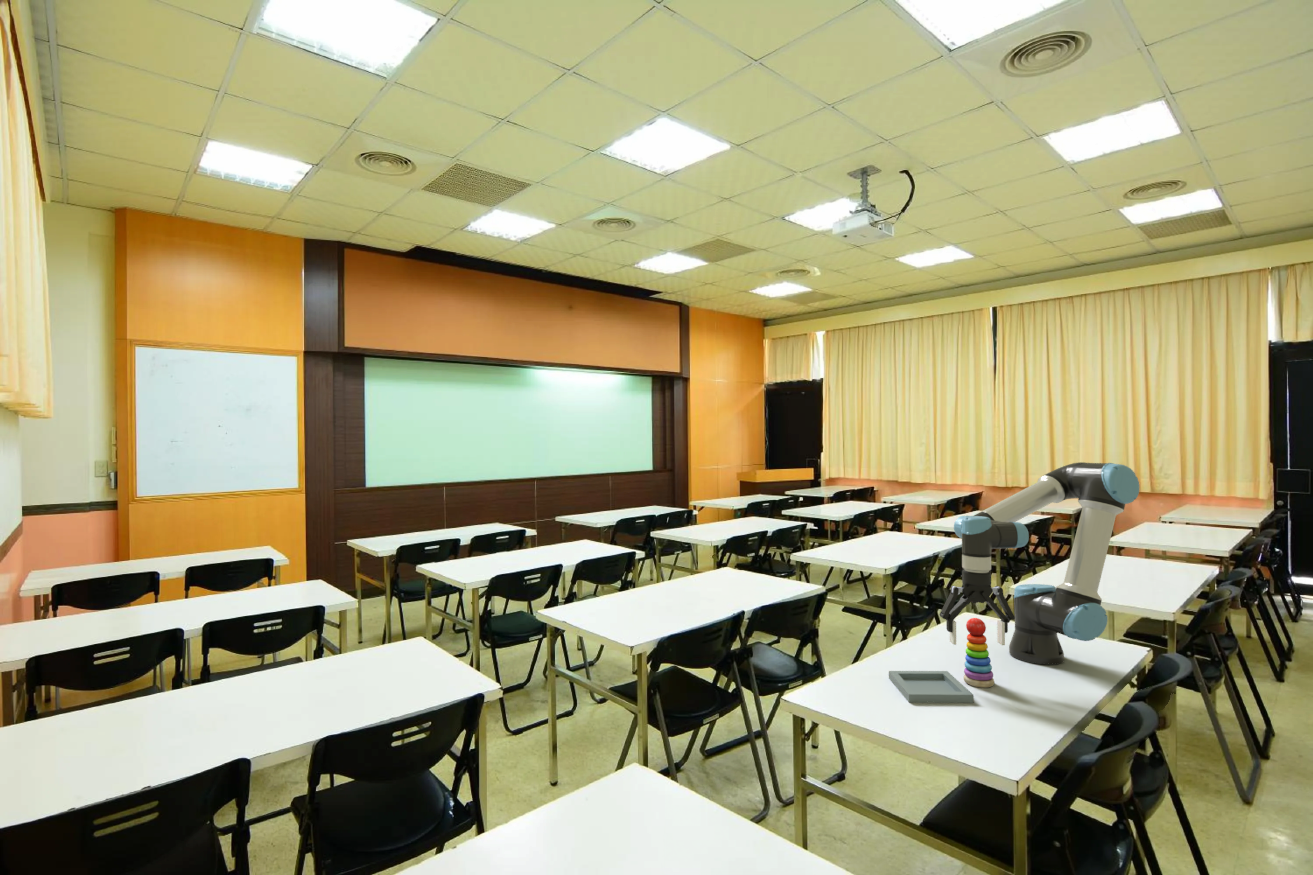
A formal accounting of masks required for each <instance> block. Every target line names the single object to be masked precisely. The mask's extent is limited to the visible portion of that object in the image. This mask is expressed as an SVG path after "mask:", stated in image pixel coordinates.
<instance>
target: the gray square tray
mask: <svg viewBox="0 0 1313 875" xmlns="http://www.w3.org/2000/svg"><path fill="white" fill-rule="evenodd" d="M888 679H889V680H890V681H891V683H892V684H893V685H894V687H896V689H897V690H898V691H899V692H900V693H901V695H902V696H903V697H904V698H905V700H906V701H907V702H908V703H913V704H914V703H915V704H916V703H920V704H921V703H922V704H926V703H927V704H928V703H929V704H931V703H933V704H936V703H937V704H941V703H945V704H946V703H948V704H949V703H950V704H955V703H956V704H973V703H974V699H975V698H974V697H975V696H974V694H973V693H972V691H970V690H969V689H968V688H967V687H966V686H964V684H962V683H961V682H960V681H959V680H958V679H957V678H956V677H954V675H953V674H951V673H950V672H949V671H948V670H888Z"/></svg>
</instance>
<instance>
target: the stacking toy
mask: <svg viewBox="0 0 1313 875" xmlns="http://www.w3.org/2000/svg"><path fill="white" fill-rule="evenodd" d="M965 627H966V630H967V631H968V633H969V634H967V635H966V640H967V642H966V649H965V653H966V655H965V656H964V657H965V662H964V671H963V673H964V674H963V681H964V682H965V683H966V684H968V685H969V686H972V687H976V688H983V689H984V688H990V687H992V686H994V685H995V679H994V673H993V671H992V669H993V667H992V665H991V658H990V657H989V655H990V654H989V653H990V652H989V651H988V648H989V647H988V643H986V642H987V637H986V635H984V634H985V633H986V631H987V627H986V623H985V622H984V621H983V619H980V618H979V617H978V618H977V617H971V618H970V619H968V620H967V621H966V625H965Z"/></svg>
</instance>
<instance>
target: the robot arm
mask: <svg viewBox="0 0 1313 875" xmlns="http://www.w3.org/2000/svg"><path fill="white" fill-rule="evenodd" d="M1139 493H1140V481H1139V478H1138V477H1137V476H1136V473H1135V471H1134V470H1133V469H1132V468H1130V467H1129V466H1127V465H1125V464H1122V463H1121V464H1120V463H1112V462H1108V463H1107V462H1106V463H1105V462H1084V461H1083V462H1082V461H1081V462H1073V463H1070V464H1067V465H1063V466H1060V467H1058V468H1056V469H1053V470H1051V471H1050V472H1047V473H1045V474H1043V475H1041V476H1040V477H1039V478H1038V479H1037V482H1035V483H1034V484H1031V485H1030V486H1027V487H1026V488H1023V489H1022V490H1020V491H1017V492H1016V493H1014V494H1012V495H1010V496H1008V497H1006V498H1005V499H1002V500H1001V501H999V502H997V503H995V504H993V505H991V506H989V507H987V508H986V509H984V510H982V511H980V512H977V513H975V514H974V515H961V516H959V517H958V518H956V520H955V521H954V524H953V530H954V533H955V535H956V537H958V538H959V539H961V553H962V554H961V567H962V570H961V576H962V577H961V579H962V580H961V583H962V586H956V585H951V586H950V592H949V594H948V597H947V599H946V601H945V602H944V604H943V605H942V606H943V607H942V608H941V611H940V613H939V617H940V618H942V619H943V620H945V621H946V622H945V623H946V631H947V632H949V642H950V643H951V644H952V645H953V646H954V645H957V621H955V619H956V618H957V617H958V616H959V615H960V613H961V612H962V611H963V610H964V609H965V608H966V606H967V605H970V603H973V604H977V603H980V604H984V603H986V604H987V605H988V606H989V607H990V609H992V611H993V612H994V614H996V616H997V617H998V618H999V619H997V624H996V625H997V627H996V628H997V633H996V634H997V643H998V644H1000V645H1001V646H1005V645H1006V634H1008V631H1009V630H1008V629H1009V626H1008V624H1009V623H1010V622H1011V621H1014V630H1013V631H1014V632H1013V634H1012V637H1011V640H1010V643H1009V645H1008V654H1009V655H1010V656H1012V657H1013V658H1015V659H1017V660H1020V661H1023V662H1027V663H1032V664H1037V665H1046V666H1047V665H1050V666H1051V665H1059V664H1063V663H1064V662H1065V653H1064V649H1063V647H1062V645H1061V641H1060V639H1059V637H1058V634H1060V635H1063V636H1066V637H1068V638H1070V639H1073V640H1078V641H1083V642H1091V641H1094V640H1095V639H1096V638H1098V637H1100V636H1101V635H1102V634H1103V633H1104V631H1105V630H1106V628H1107V625H1108V615H1107V611H1106V610H1105V608H1104V607H1103V606H1102V601H1103V600H1102V598H1101V596H1100V595H1099V594H1098V593H1099V592H1098V590H1099V587H1100V582H1101V578H1102V575H1103V570H1104V566H1105V561H1106V558H1107V554H1108V549H1109V545H1110V541H1111V537H1112V534H1113V529H1114V527H1115V526H1114V525H1115V522H1116V521H1115V520H1116V518H1117V515H1119V514H1121V513H1123V512H1124V511H1125V508H1126V505H1127V504H1128V505H1129V504H1131V503H1133V502H1134V501H1135V500H1137V498H1138V496H1139ZM1071 499H1077V502H1078V504H1079V505H1080V506H1081V512H1080V515H1079V521H1078V525H1077V528H1076V533H1075V537H1074V540H1073V544H1072V548H1071V552H1070V556H1069V560H1068V564H1067V568H1066V571H1065V572H1066V573H1065V576H1064V578H1063V579H1064V580H1063V582H1062V583H1061V584H1058V585H1057V586H1056V585H1055V586H1054V585H1053V584H1044V583H1043V584H1040V583H1032V584H1031V583H1029V584H1028V583H1026V584H1019V585H1017V586H1015V587H1014V592H1013V593H1014V594H1013V595H1014V596H1013V607H1014V608H1013V609H1014V613H1013V610H1012V609H1011V607H1010V605H1009V603H1008V601H1007V599H1006V597H1005V594H1004V590H1003V588H1002V587H1001V586H998V585H995V586H994V587H992V572H991V570H992V550H995V549H998V550H999V549H1018V548H1022V547H1025V546H1026V545H1027V544H1028V542H1029V540H1030V538H1029V537H1030V535H1029V534H1030V533H1029V531H1028V528H1027V527H1026V525H1024V524H1023V523H1021V522H1018V521H1020V520H1021V519H1022V520H1023V519H1024V518H1025V517H1028V516H1029V515H1031V514H1033V513H1036V512H1037V511H1039V510H1041V509H1042V508H1044V507H1046V506H1048V505H1050V504H1053V503H1054V504H1058V503H1062V502H1064V501H1066V500H1071ZM961 593H962V594H963V595H962V596H961V597H960V598H959V601H957V599H958V596H959V595H960V594H961ZM992 594H994V595H995V597H996V598H997V601H998V603H999V604H1000V606H1001V608H1002V610H1003V611H1002V610H1001V609H1000V608H999V607H998V605H997V604H996V603H995V602H994V601H993V599H992V597H991V595H992ZM956 601H957V603H956ZM955 603H956V604H955Z"/></svg>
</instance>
